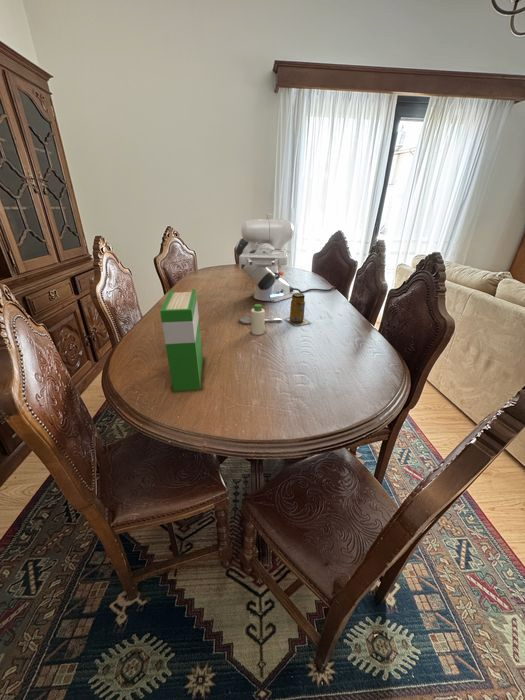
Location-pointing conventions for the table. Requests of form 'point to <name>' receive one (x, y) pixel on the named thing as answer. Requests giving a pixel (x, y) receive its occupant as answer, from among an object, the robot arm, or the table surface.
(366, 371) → the table surface
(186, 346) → the hardback book
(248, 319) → the spoon
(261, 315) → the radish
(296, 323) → the condiment
